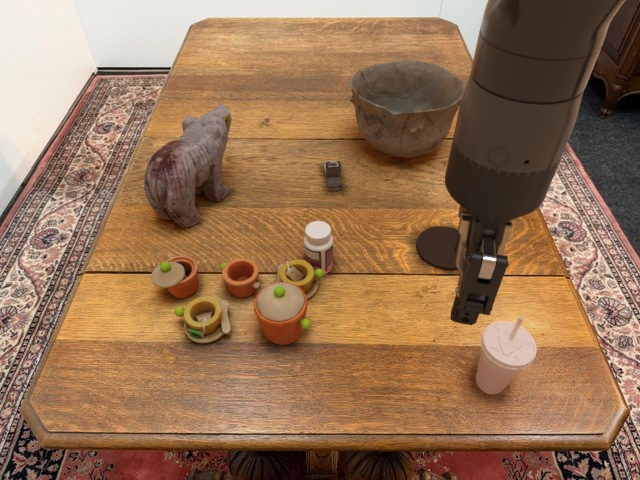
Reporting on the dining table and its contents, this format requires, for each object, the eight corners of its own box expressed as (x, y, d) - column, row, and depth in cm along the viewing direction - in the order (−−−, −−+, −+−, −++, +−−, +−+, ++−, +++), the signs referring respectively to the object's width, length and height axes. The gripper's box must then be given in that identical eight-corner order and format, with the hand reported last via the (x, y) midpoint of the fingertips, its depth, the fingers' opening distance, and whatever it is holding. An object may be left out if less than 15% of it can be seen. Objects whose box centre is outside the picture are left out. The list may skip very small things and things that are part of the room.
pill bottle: (326, 251, 81) (326, 215, 75) (337, 271, 78) (338, 235, 72) (300, 259, 80) (298, 223, 74) (310, 279, 77) (309, 243, 71)
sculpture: (241, 168, 98) (230, 102, 87) (217, 238, 84) (201, 169, 73) (183, 165, 99) (166, 100, 88) (149, 234, 84) (124, 165, 74)
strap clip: (323, 166, 98) (322, 149, 95) (337, 165, 99) (337, 148, 96) (328, 192, 92) (328, 174, 89) (343, 190, 93) (344, 173, 90)
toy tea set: (324, 269, 78) (324, 227, 71) (322, 351, 67) (322, 311, 60) (168, 267, 79) (152, 226, 72) (141, 349, 68) (120, 308, 61)
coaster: (475, 233, 84) (475, 230, 84) (474, 274, 77) (475, 272, 77) (418, 224, 86) (418, 222, 85) (413, 264, 79) (413, 262, 78)
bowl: (332, 135, 106) (333, 71, 96) (412, 112, 113) (421, 50, 103) (385, 190, 93) (393, 122, 82) (472, 159, 100) (490, 93, 89)
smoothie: (519, 373, 65) (555, 313, 55) (507, 413, 61) (543, 355, 51) (473, 353, 67) (500, 291, 57) (458, 389, 63) (484, 329, 53)
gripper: (578, 209, 28) (507, 355, 39) (553, 95, 38) (502, 239, 49) (449, 192, 29) (416, 338, 41) (458, 86, 39) (429, 228, 51)
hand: (463, 284), depth 45 cm, fingers open, 8 cm apart
